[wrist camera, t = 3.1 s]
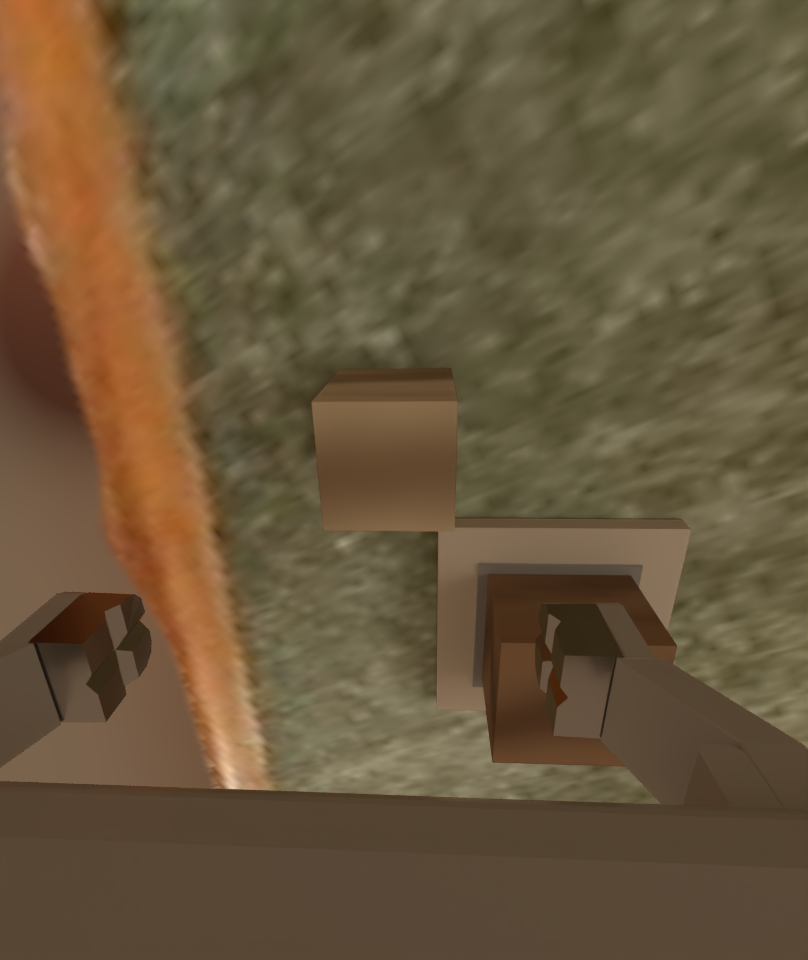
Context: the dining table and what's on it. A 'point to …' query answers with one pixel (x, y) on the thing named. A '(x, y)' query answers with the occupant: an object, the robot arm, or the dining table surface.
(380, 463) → the maple block
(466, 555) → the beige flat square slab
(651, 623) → the walnut block
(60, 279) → the dining table surface
